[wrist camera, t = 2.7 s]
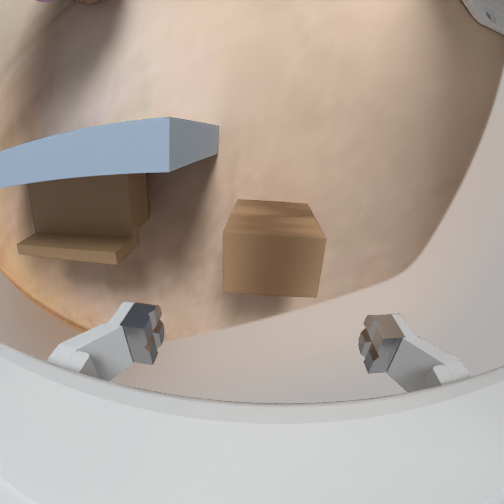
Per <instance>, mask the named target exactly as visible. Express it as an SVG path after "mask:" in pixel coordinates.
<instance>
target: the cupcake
mask: <svg viewBox="0 0 504 504" xmlns="http://www.w3.org/2000/svg"><path fill="white" fill-rule="evenodd" d="M37 1H40V2H51V1H54V0H37ZM74 1H77V2H79V3H82V4H94V3H96V2H99V1H100V0H74Z"/></svg>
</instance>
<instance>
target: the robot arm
mask: <svg viewBox="0 0 504 504" xmlns="http://www.w3.org/2000/svg"><path fill="white" fill-rule="evenodd" d="M462 1H463V3H464V4H465V6H466V7H467V9H468V10H469V12H470V13H471V15H472V16H473V17H474V18H475V19H476V20H477V21H478V22H479V23H480V24H482V25H484V26H487V27H489V28H491V29H493V30H495V31H497V32H499V33H501V34H503V35H504V0H462ZM161 315H162V313H161V308H160V307H159V306H158V305H151V304H144V303H137V302H129V301H124V302H123V303H122V304H121V305H120V307H119V308H118V310H117V311H116V312H115V314H114V315H113V316H112V318H111V319H110V320H109V322H108V323H103V324H101V325H99V326H96V327H94V328H92V329H90V330H88V331H86V332H84V333H82V334H79V335H77V336H75V337H73V338H71V339H69V340H67V341H64V342H63V343H60V344H59V345H58V346H57V348H56V349H55V350H54V351H53V353H52V354H51V355H50V357H49V358H48V360H47V361H45V360H42V359H40V358H37V357H34V356H32V355H30V354H27V353H25V352H23V351H21V350H18V349H16V348H14V347H12V346H9V345H7V344H5V343H3V342H1V341H0V504H504V366H501V367H499V368H496V369H493V370H491V371H488V372H485V373H482V374H479V375H476V376H472V377H470V375H469V374H468V372H467V370H466V369H465V367H464V366H463V364H462V363H461V361H460V360H458V359H457V358H455V357H454V356H452V355H450V354H448V353H447V352H445V351H443V350H442V349H440V348H438V347H436V346H435V345H433V344H431V343H430V342H428V341H426V340H425V339H423V338H421V337H419V336H417V337H416V335H415V334H414V333H413V331H412V329H411V328H410V326H409V325H408V323H407V322H406V320H405V319H404V317H403V316H402V315H401V314H399V313H398V314H389V315H368V316H367V317H366V319H365V322H364V325H365V327H366V328H365V329H364V330H363V331H362V332H361V334H360V337H359V350H360V353H361V355H363V356H364V357H365V360H364V363H365V366H366V369H367V371H368V373H381V372H387V374H389V376H390V377H392V378H393V379H394V380H395V381H396V382H397V383H398V384H399V385H400V386H402V387H403V388H404V389H405V390H406V391H407V392H408V393H402V394H397V395H391V396H384V397H378V398H369V399H361V400H351V401H340V402H324V403H297V404H296V403H294V404H278V403H274V404H273V403H246V402H231V401H219V400H209V399H199V398H192V397H185V396H178V395H172V394H166V393H160V392H155V391H150V390H145V389H140V388H135V387H130V386H126V385H122V384H118V383H114V382H110V380H111V379H113V378H114V377H115V376H117V375H118V374H119V373H121V372H122V371H123V370H125V369H126V368H127V367H129V366H130V365H131V364H133V362H137V363H143V364H150V365H153V364H154V361H155V359H156V357H157V354H158V352H157V348H158V347H160V346H161V345H162V342H163V339H164V325H163V323H162V322H161V320H160V317H161Z"/></svg>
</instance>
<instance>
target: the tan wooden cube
mask: <svg viewBox="0 0 504 504" xmlns="http://www.w3.org/2000/svg"><path fill="white" fill-rule="evenodd" d="M325 244H326V237H325V235H324V233H323V231H322V230H321V228H320V226H319V224H318V222H317V220H316V219H315V217H314V215H313V213H312V211H311V210H310V208H309V206H308V204H303V203H290V202H275V201H259V200H239V199H238V201H237V203H236V205H235V207H234V209H233V211H232V214H231V216H230V218H229V220H228V223H227V225H226V227H225V229H224V232H223V292H225V293H239V294H254V295H271V296H290V297H313V298H316V297H317V292H318V286H319V281H320V275H321V269H322V263H323V257H324V251H325Z"/></svg>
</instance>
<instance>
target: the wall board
mask: <svg viewBox="0 0 504 504" xmlns="http://www.w3.org/2000/svg"><path fill="white" fill-rule="evenodd" d="M218 136H219V126H217V125H212V124H207V123H202V122H196V121H191V120H185V119H179V118H172V117H164V118H153V119H143V120H134V121H126V122H119V123H113V124H106V125H100V126H95V127H89V128H84V129H79V130H74V131H70V132H65V133H61V134H57V135H53V136H49V137H45V138H41V139H38V140H34V141H31V142H28V143H24V144H21V145H18V146H15V147H12V148H9V149H6V150H3V151H0V188H3V187H9V186H14V185H21V184H27V183H28V185H29V194H30V201H31V208H32V214H33V220H34V225H35V231H36V233H35V234H33V235H31V236H30V237H28V238H26V239H25V240H23V241H22V242H20V243H18V244H17V248H18V252H19V254H22V255H31V256H39V257H47V258H56V259H65V260H74V261H83V262H93V263H103V264H113V265H118V264H119V263H120V262H121V261H122V260H123V259H124V258H125V257H126V256H127V255H128V254H129V253H130V252H131V251H132V250H133V249H134V248H135V247H136V246H137V245H138V244H139V238H138V227H139V226H140V225H142V224H143V223H144V222H146V221H147V220H148V219H149V208H148V191H147V173H158V172H171V171H174V170H176V169H179V168H181V167H184V166H186V165H189V164H191V163H194V162H197V161H199V160H202V159H205V158H207V157H210V156H213V155H216V154H218Z"/></svg>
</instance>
